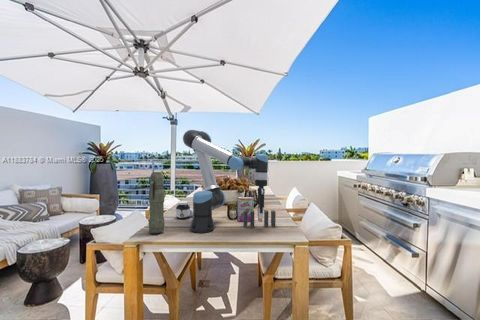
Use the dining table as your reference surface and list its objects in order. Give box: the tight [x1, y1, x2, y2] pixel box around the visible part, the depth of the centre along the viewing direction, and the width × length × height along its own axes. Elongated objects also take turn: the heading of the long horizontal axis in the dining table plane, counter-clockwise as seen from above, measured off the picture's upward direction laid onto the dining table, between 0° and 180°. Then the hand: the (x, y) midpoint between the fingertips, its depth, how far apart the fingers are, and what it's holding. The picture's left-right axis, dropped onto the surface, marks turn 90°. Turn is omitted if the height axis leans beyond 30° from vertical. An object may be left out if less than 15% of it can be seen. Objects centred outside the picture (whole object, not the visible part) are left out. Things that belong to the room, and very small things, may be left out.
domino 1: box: [243, 210, 248, 228], centre depth 160 cm, size 2×5×10 cm, turn 3°
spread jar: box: [175, 200, 193, 220], centre depth 183 cm, size 12×11×12 cm
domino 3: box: [257, 204, 263, 223], centre depth 152 cm, size 2×5×10 cm, turn 3°
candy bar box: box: [236, 196, 255, 223], centre depth 174 cm, size 11×5×16 cm, turn 84°
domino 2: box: [249, 209, 255, 228], centre depth 160 cm, size 2×5×10 cm, turn 3°
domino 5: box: [270, 209, 277, 228], centre depth 161 cm, size 2×5×10 cm, turn 3°
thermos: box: [148, 171, 165, 234], centre depth 148 cm, size 9×12×35 cm
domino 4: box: [263, 209, 269, 228], centre depth 161 cm, size 2×5×10 cm, turn 3°
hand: (260, 217), depth 153 cm, fingers closed on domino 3, 5 cm apart
